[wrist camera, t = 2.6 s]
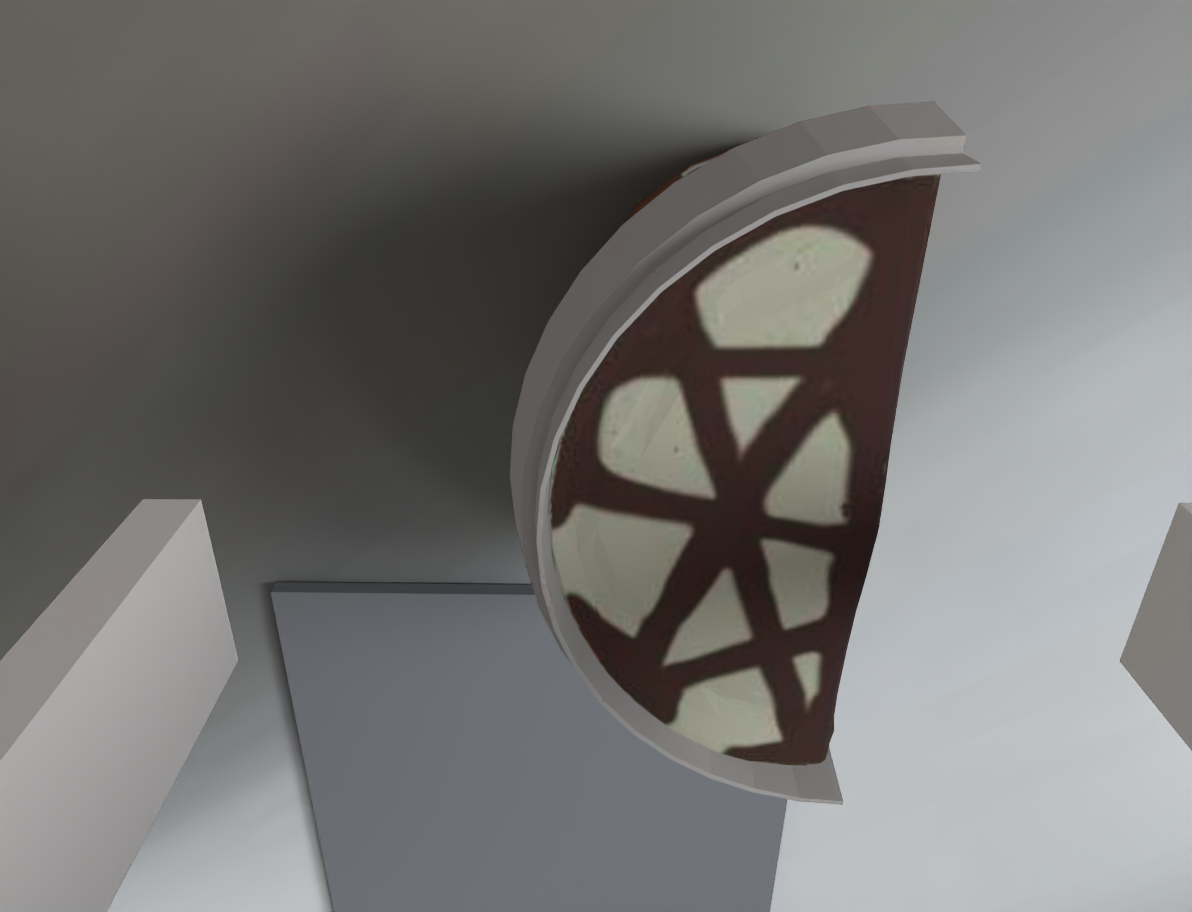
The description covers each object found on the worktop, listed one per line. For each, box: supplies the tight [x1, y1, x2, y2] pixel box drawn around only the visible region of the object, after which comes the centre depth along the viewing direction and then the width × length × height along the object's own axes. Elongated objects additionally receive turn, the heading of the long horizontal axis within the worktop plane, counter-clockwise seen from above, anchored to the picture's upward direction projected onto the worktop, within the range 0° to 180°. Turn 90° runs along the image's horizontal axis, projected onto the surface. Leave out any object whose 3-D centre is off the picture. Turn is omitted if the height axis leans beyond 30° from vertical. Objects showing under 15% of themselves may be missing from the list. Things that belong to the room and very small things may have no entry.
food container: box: [510, 102, 981, 805], centre depth 18 cm, size 12×6×10 cm, turn 179°
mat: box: [271, 582, 787, 912], centre depth 30 cm, size 16×20×1 cm
